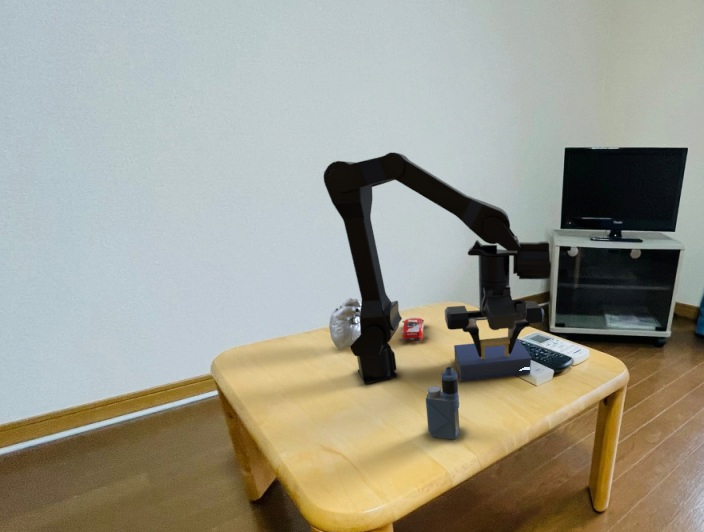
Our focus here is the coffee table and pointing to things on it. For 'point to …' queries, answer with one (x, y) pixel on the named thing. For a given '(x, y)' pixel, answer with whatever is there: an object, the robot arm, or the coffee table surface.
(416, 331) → the race car
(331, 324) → the heart
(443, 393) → the vaping device
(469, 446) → the coffee table surface
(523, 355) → the lid
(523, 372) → the box
